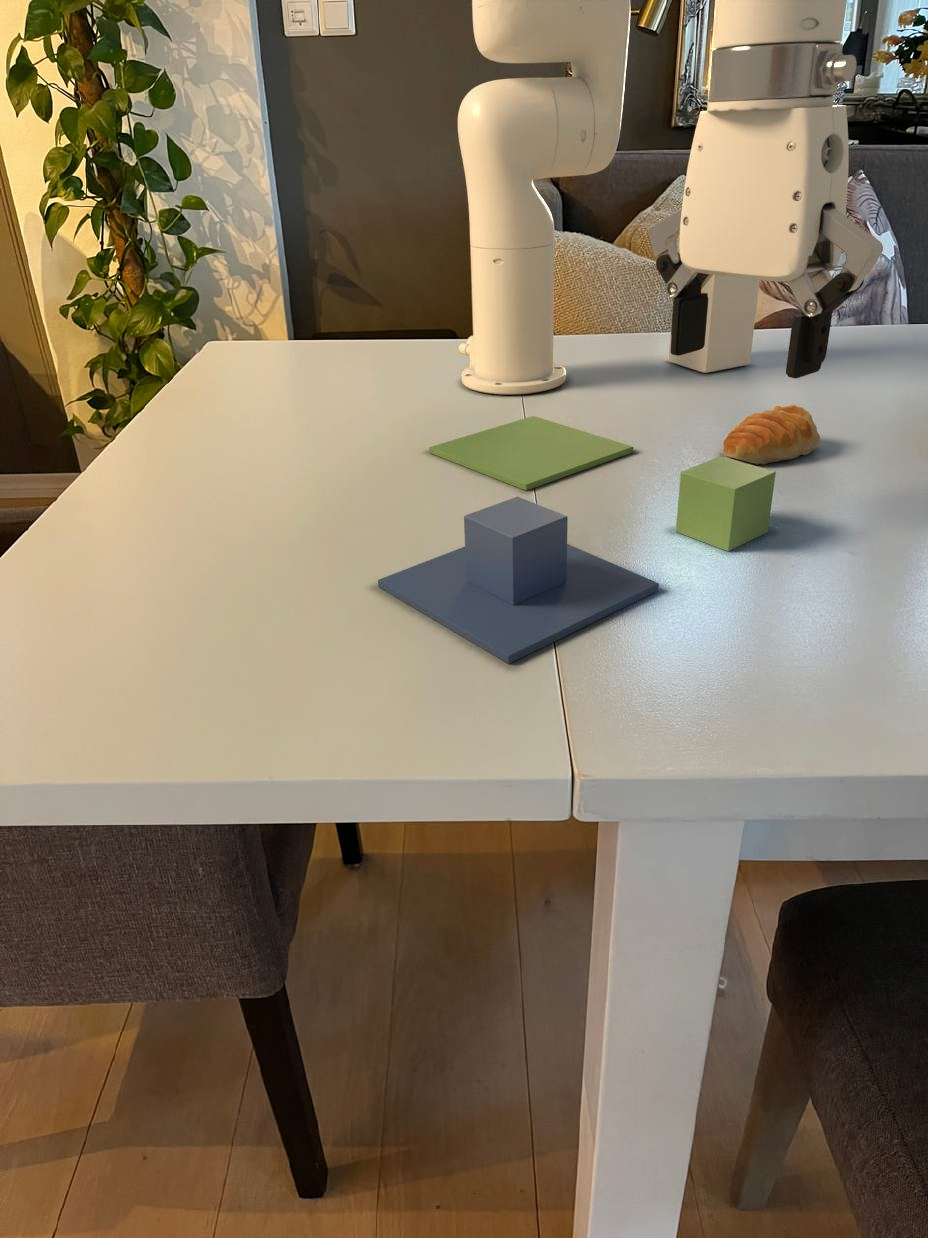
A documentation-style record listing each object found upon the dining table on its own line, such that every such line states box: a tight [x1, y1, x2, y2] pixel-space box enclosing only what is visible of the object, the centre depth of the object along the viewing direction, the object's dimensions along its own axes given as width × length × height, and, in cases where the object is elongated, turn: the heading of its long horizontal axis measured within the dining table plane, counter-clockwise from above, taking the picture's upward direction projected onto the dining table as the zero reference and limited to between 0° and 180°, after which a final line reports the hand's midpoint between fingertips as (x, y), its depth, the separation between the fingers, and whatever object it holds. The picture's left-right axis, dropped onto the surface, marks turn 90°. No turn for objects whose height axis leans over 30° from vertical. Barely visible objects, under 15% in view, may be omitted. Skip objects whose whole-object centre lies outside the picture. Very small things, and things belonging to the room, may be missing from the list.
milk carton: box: [668, 235, 761, 374], centre depth 110 cm, size 7×7×19 cm
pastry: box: [723, 404, 821, 466], centre depth 86 cm, size 9×7×4 cm
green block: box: [675, 455, 777, 552], centre depth 71 cm, size 5×5×5 cm
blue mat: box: [377, 543, 660, 665], centre depth 65 cm, size 14×14×1 cm
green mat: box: [428, 415, 634, 492], centre depth 89 cm, size 14×14×1 cm
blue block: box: [463, 496, 569, 605], centre depth 63 cm, size 5×5×5 cm
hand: (742, 362), depth 65 cm, fingers open, 9 cm apart
